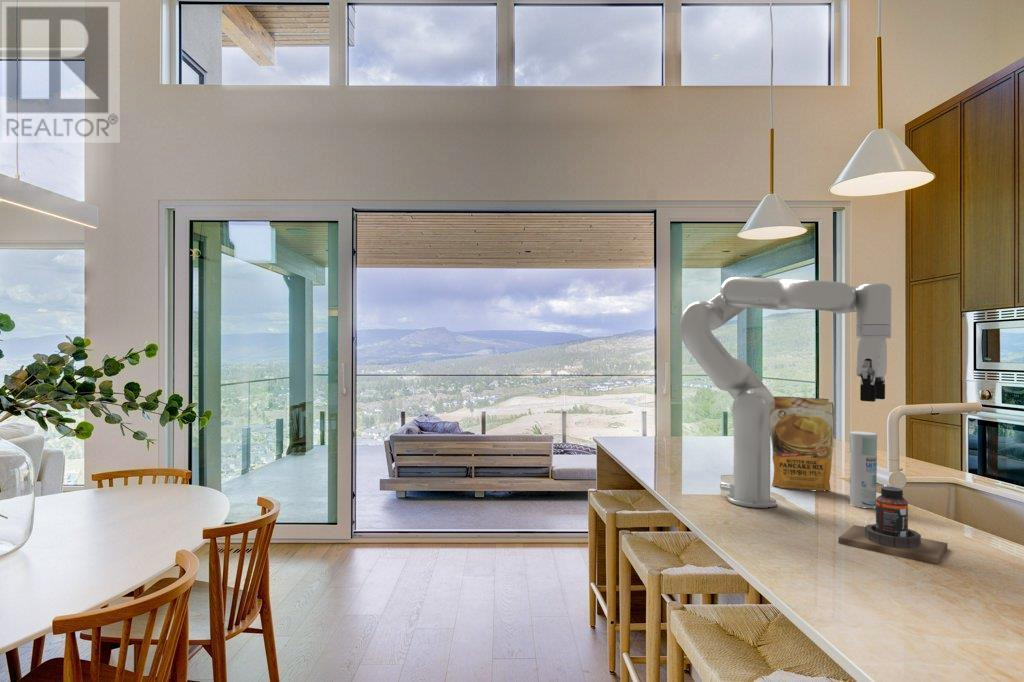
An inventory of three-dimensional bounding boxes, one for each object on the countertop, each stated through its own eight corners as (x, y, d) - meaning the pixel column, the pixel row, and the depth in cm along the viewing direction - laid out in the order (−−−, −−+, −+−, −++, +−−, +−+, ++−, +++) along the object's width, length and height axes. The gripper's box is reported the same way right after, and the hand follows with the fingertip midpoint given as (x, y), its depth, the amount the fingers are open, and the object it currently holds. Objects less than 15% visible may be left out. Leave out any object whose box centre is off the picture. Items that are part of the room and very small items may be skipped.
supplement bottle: (913, 545, 125) (913, 492, 125) (882, 543, 126) (882, 490, 126) (900, 536, 131) (901, 485, 131) (871, 534, 132) (871, 484, 132)
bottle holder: (838, 542, 130) (838, 528, 130) (853, 529, 139) (853, 516, 139) (937, 564, 117) (937, 548, 117) (947, 548, 127) (947, 533, 127)
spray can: (866, 510, 156) (866, 435, 157) (843, 503, 162) (844, 431, 162) (882, 507, 159) (882, 434, 159) (859, 501, 165) (859, 430, 165)
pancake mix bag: (765, 482, 187) (766, 395, 187) (832, 488, 180) (833, 397, 181) (767, 487, 180) (768, 397, 180) (837, 493, 174) (837, 399, 174)
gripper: (865, 333, 157) (864, 397, 157) (847, 331, 144) (846, 401, 144) (898, 333, 152) (897, 399, 151) (882, 331, 139) (881, 403, 139)
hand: (872, 400), depth 148 cm, fingers open, 9 cm apart
